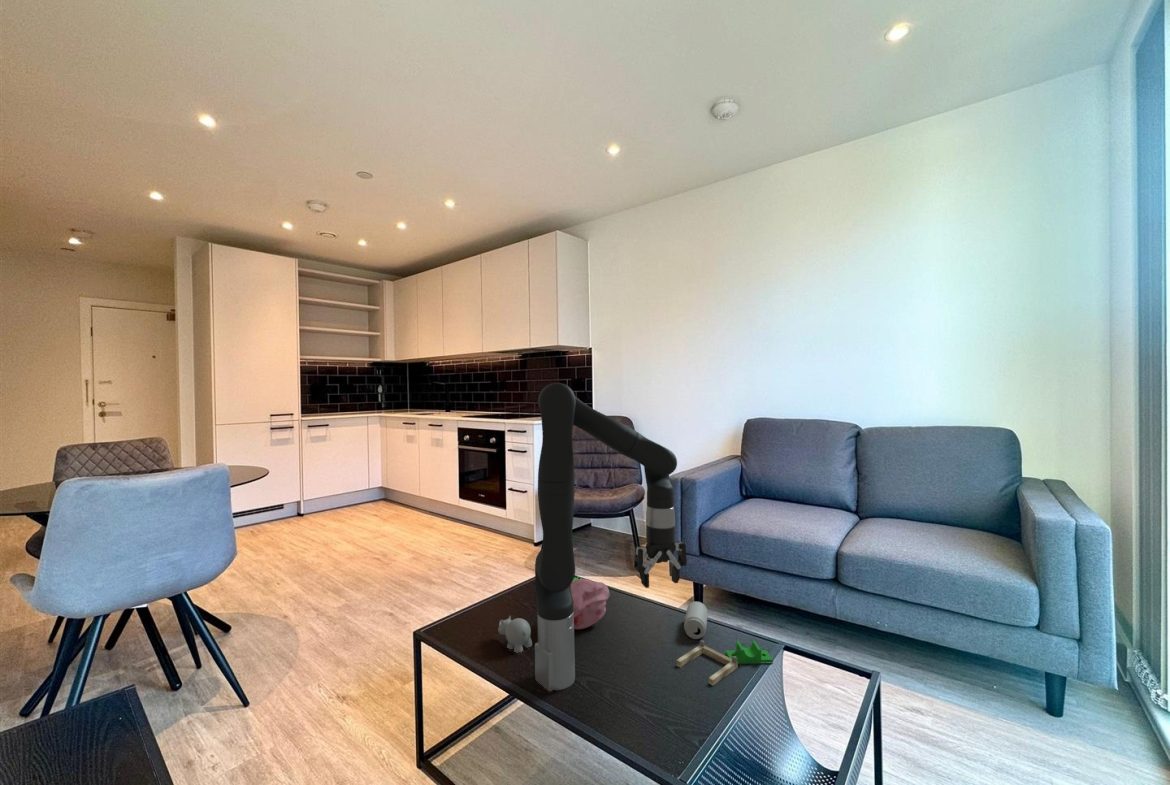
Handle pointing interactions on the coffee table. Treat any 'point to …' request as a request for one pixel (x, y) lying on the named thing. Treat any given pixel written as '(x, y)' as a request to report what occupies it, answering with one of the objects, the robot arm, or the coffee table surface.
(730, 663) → the frame
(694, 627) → the beverage can
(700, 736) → the coffee table surface
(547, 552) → the robot arm
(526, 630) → the rhino figurine
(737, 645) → the pipe clamp
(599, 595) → the decorative rock
